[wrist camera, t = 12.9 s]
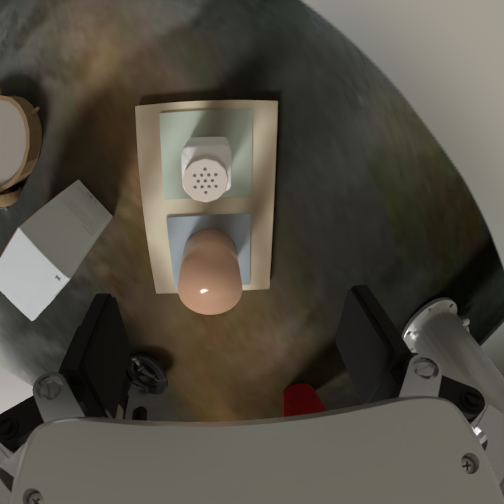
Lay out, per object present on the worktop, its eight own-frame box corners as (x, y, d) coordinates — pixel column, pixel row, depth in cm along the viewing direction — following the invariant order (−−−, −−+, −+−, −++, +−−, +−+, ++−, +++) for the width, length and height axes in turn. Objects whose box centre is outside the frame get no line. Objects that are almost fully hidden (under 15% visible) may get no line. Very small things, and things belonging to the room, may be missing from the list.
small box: (78, 177, 29) (18, 225, 18) (114, 216, 32) (72, 280, 21) (43, 221, 31) (-13, 279, 19) (76, 256, 34) (33, 324, 22)
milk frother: (78, 380, 45) (60, 447, 32) (90, 326, 39) (62, 408, 26) (149, 405, 50) (143, 473, 37) (177, 359, 44) (172, 443, 31)
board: (275, 100, 28) (278, 101, 27) (267, 283, 39) (269, 290, 37) (138, 105, 27) (134, 106, 25) (157, 287, 37) (156, 294, 36)
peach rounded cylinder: (236, 227, 33) (242, 260, 27) (236, 274, 36) (242, 313, 30) (181, 229, 32) (174, 263, 26) (185, 276, 35) (181, 315, 29)
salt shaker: (228, 174, 30) (234, 207, 22) (188, 176, 29) (178, 209, 21) (228, 135, 28) (234, 151, 20) (187, 137, 28) (175, 154, 19)
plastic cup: (336, 374, 51) (357, 428, 40) (309, 407, 55) (324, 456, 45) (283, 370, 48) (298, 431, 37) (260, 404, 52) (269, 459, 42)
